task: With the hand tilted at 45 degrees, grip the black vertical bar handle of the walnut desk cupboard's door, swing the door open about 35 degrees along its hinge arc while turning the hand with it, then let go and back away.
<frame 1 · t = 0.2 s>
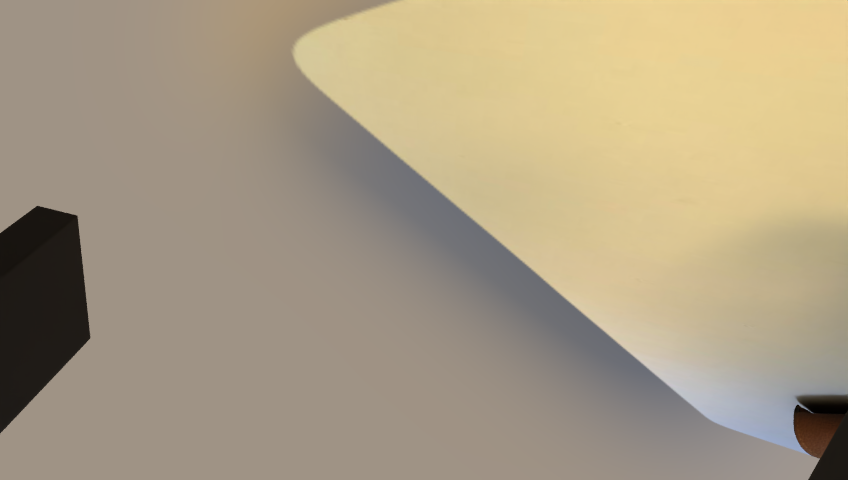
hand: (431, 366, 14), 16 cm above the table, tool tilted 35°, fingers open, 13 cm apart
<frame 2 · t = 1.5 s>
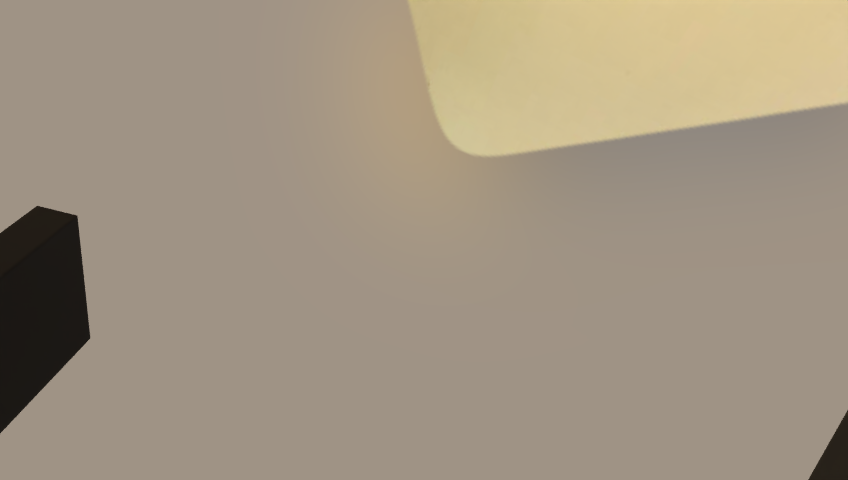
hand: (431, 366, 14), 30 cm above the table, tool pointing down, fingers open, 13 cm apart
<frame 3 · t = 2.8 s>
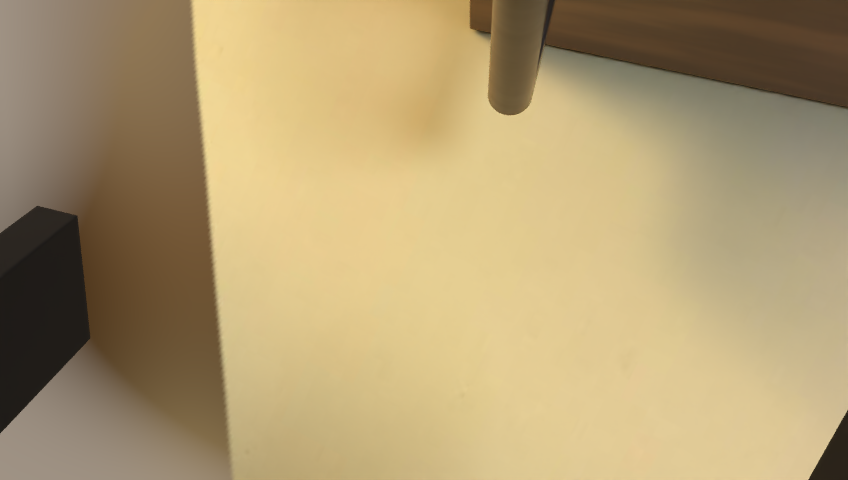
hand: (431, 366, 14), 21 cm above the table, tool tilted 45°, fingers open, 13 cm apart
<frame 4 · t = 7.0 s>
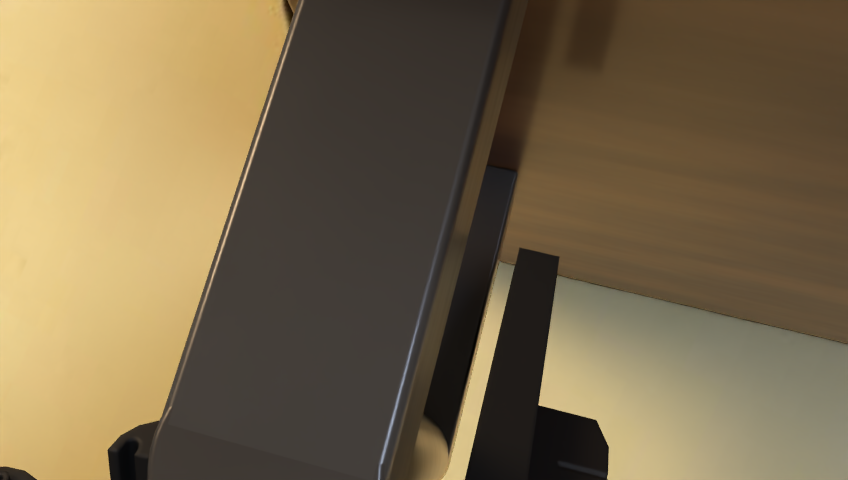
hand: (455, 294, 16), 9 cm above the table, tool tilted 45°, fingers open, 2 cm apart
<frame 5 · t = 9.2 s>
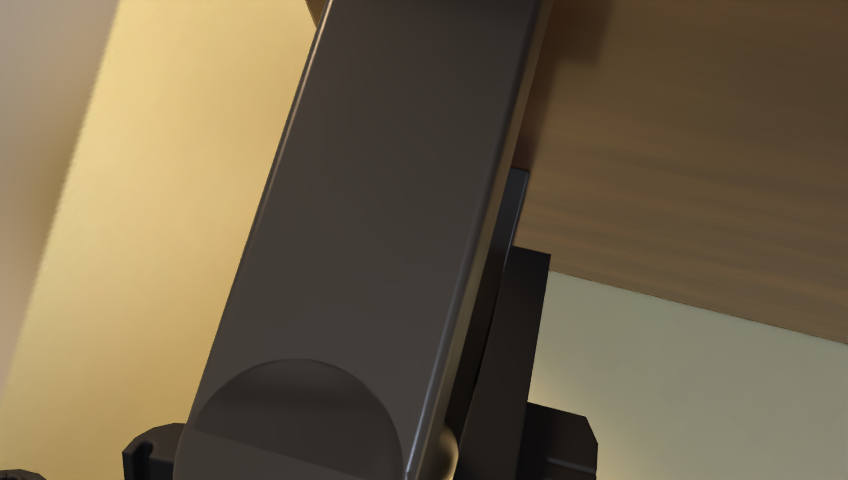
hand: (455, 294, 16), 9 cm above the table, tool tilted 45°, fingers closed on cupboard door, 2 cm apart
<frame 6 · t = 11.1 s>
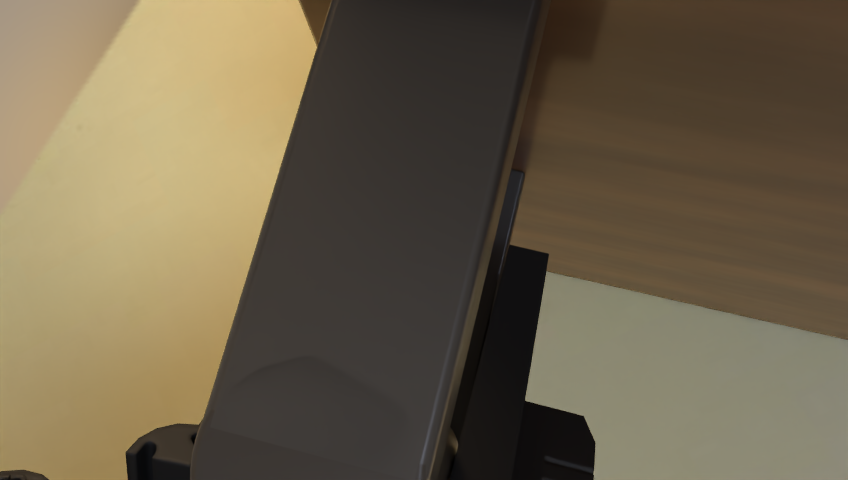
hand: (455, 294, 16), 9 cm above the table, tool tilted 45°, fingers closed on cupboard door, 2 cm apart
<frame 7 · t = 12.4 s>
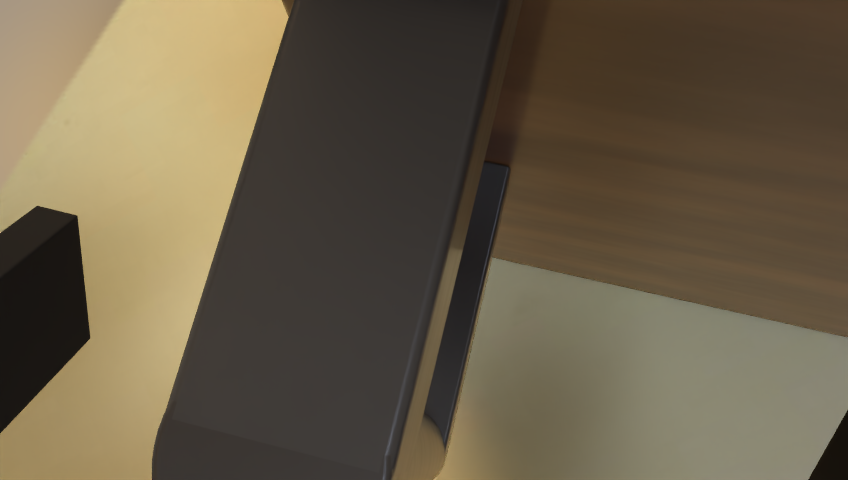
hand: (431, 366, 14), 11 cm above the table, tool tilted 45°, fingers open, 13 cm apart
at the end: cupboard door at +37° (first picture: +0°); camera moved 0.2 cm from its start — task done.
